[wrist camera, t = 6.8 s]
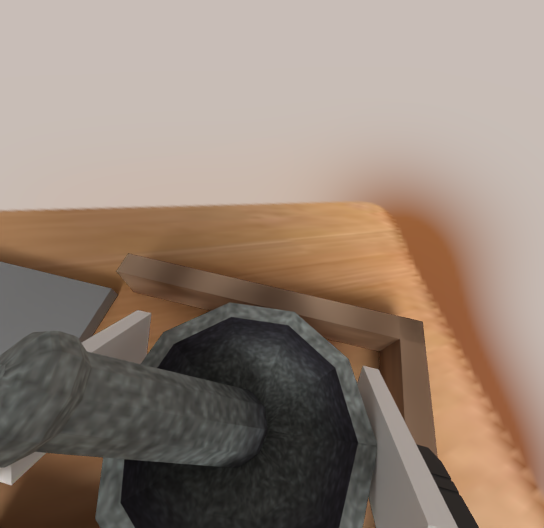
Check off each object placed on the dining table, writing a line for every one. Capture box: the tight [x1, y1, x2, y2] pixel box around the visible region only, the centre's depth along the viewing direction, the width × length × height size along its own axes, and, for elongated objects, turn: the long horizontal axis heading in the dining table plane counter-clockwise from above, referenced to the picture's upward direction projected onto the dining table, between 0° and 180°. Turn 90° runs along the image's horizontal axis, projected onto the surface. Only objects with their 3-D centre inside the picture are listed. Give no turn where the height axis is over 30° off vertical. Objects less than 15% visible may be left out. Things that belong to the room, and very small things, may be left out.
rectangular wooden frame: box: [116, 253, 438, 458], centre depth 14 cm, size 20×16×3 cm
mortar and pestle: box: [0, 302, 377, 528], centre depth 10 cm, size 11×9×12 cm
